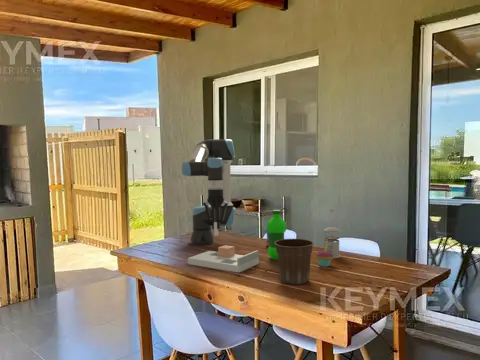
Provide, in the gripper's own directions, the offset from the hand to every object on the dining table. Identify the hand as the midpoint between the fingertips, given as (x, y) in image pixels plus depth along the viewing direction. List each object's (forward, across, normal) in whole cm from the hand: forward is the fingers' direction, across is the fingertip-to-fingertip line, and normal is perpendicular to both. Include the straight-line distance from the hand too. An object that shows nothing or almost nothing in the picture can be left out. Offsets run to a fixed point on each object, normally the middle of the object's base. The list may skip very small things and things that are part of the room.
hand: (216, 235), depth 191 cm
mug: (+14, +26, +39) cm, 49 cm away
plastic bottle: (+14, +30, +11) cm, 34 cm away
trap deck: (+13, +4, -4) cm, 15 cm away
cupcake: (+13, +53, 0) cm, 55 cm away
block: (+10, +5, 0) cm, 12 cm away
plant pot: (+13, +40, -26) cm, 49 cm away
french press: (+14, +57, +22) cm, 63 cm away
